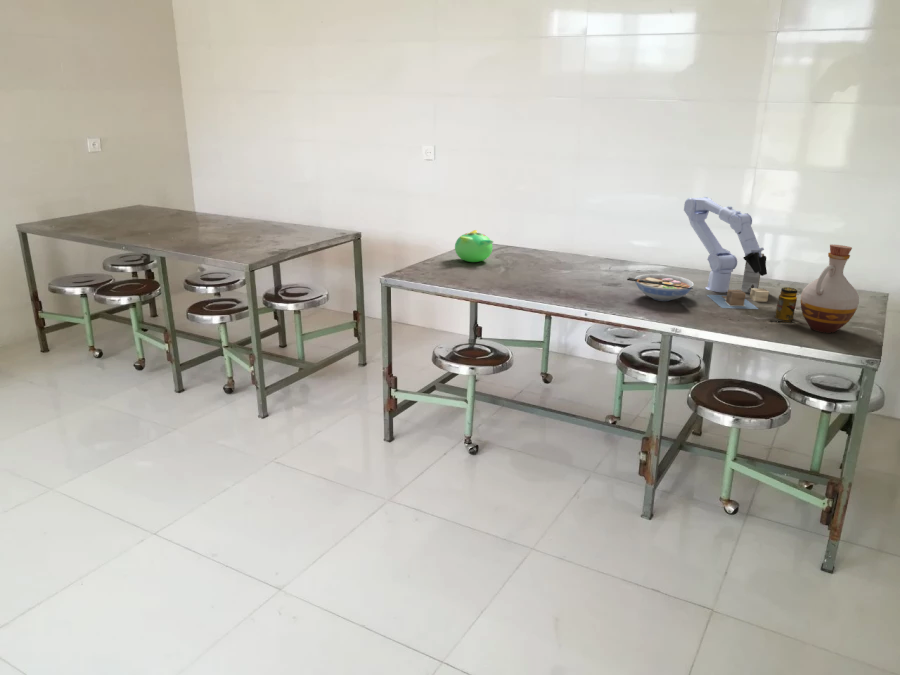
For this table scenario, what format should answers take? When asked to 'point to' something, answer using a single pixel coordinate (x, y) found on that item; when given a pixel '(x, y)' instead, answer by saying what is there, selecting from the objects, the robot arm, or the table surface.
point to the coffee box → (750, 278)
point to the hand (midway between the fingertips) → (761, 273)
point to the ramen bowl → (663, 286)
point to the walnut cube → (735, 297)
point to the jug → (830, 295)
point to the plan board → (723, 304)
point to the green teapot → (473, 247)
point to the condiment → (786, 305)
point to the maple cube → (759, 294)
